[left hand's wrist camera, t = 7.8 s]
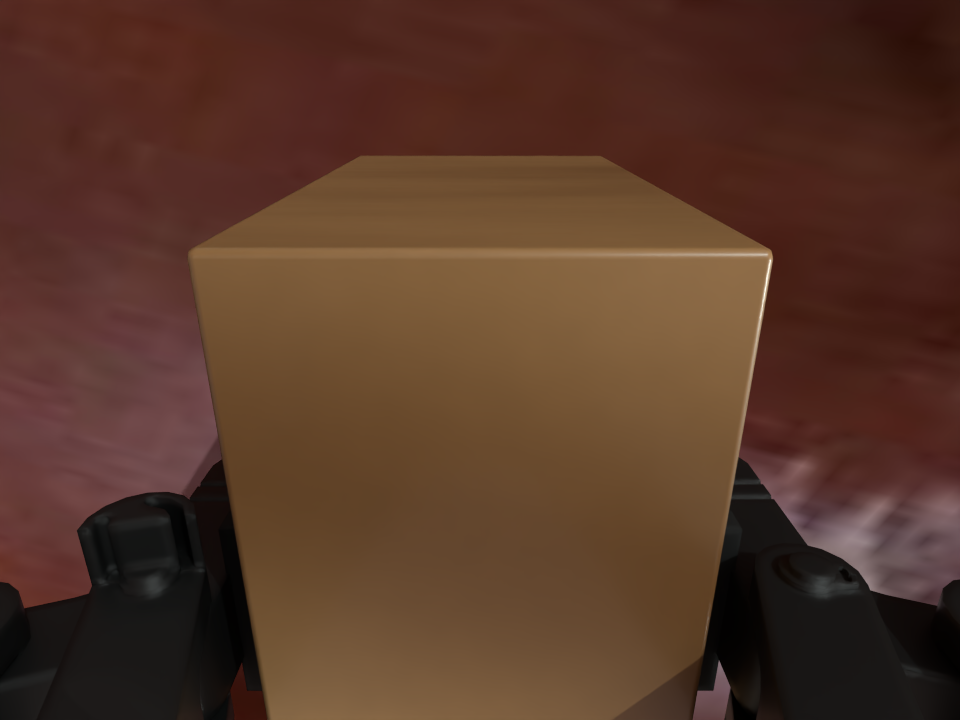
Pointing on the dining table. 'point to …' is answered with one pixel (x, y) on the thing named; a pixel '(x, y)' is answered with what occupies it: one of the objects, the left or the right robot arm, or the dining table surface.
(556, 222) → the bar
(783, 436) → the dining table surface
